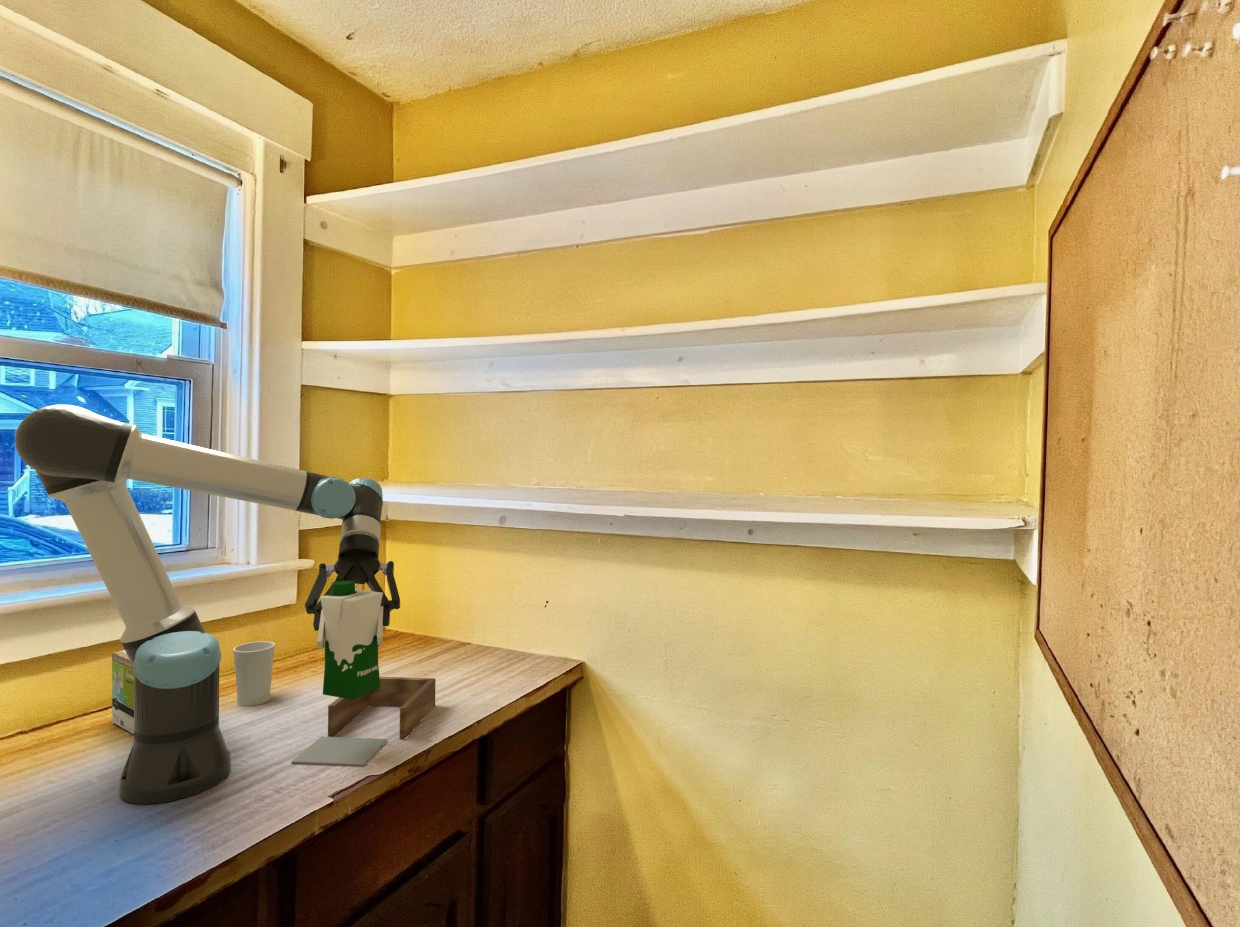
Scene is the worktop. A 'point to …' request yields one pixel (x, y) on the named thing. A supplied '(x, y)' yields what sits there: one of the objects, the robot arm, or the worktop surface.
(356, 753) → the mat
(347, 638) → the soya milk
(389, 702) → the wooden tray
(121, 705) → the tea box
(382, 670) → the worktop surface
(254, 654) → the cup
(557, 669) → the worktop surface
